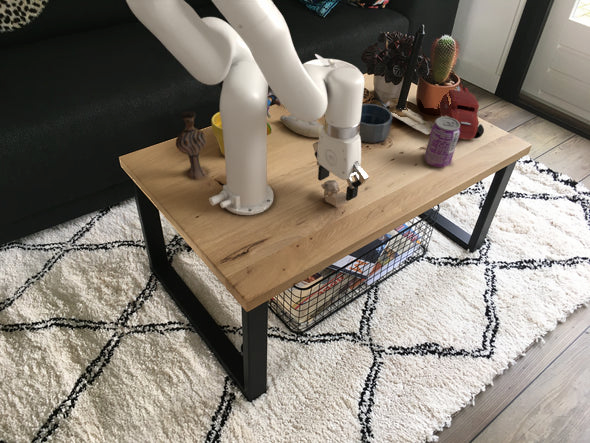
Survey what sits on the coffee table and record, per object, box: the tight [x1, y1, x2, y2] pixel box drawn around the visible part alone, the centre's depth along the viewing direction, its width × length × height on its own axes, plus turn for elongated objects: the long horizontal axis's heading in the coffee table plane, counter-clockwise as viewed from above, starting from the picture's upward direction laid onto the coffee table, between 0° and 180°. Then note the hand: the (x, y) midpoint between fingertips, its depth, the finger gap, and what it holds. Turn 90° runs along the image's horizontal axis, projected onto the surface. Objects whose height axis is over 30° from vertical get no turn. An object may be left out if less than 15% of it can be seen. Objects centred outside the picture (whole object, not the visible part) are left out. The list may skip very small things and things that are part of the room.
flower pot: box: [211, 111, 225, 156], centre depth 132 cm, size 10×10×10 cm
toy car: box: [436, 83, 485, 140], centre depth 148 cm, size 15×28×10 cm, turn 177°
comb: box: [391, 107, 435, 135], centre depth 148 cm, size 15×2×10 cm
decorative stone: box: [279, 115, 324, 138], centre depth 143 cm, size 6×16×3 cm, turn 60°
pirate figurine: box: [267, 89, 282, 137], centre depth 138 cm, size 14×13×15 cm
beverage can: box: [423, 116, 460, 168], centre depth 132 cm, size 7×7×12 cm
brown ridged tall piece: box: [175, 110, 207, 180], centre depth 122 cm, size 7×5×18 cm
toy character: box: [320, 179, 349, 208], centre depth 121 cm, size 4×8×6 cm, turn 27°
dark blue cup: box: [359, 103, 393, 144], centre depth 143 cm, size 12×12×6 cm
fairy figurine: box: [314, 53, 338, 69], centre depth 151 cm, size 6×7×7 cm
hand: (337, 187), depth 120 cm, fingers open, 9 cm apart
